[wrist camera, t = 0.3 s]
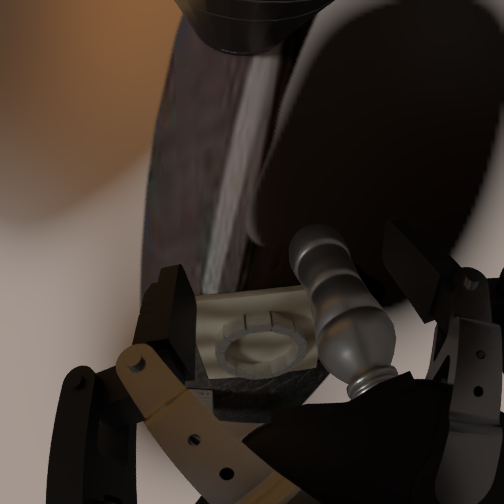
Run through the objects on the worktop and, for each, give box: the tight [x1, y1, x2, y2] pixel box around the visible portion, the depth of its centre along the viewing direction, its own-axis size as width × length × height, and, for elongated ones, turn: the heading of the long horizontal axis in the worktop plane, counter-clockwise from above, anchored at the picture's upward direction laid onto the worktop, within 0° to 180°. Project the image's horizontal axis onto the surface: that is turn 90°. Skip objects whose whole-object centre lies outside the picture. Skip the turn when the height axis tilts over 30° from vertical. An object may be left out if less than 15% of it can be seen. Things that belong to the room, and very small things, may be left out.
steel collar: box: [215, 311, 307, 379], centre depth 38 cm, size 12×12×2 cm
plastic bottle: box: [289, 224, 398, 400], centre depth 24 cm, size 6×7×20 cm
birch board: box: [195, 285, 318, 379], centre depth 40 cm, size 18×18×1 cm
